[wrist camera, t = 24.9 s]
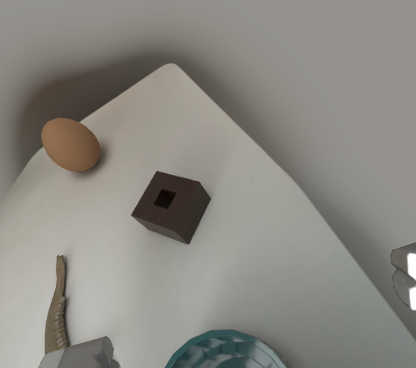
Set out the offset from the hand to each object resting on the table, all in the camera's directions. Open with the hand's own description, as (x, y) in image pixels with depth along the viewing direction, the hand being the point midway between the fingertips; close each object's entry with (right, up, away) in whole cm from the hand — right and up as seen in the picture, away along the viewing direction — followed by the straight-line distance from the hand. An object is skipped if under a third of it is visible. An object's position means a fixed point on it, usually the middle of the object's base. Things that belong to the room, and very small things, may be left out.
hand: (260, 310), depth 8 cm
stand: (-6, -1, +38) cm, 38 cm away
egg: (-24, +7, +51) cm, 56 cm away
